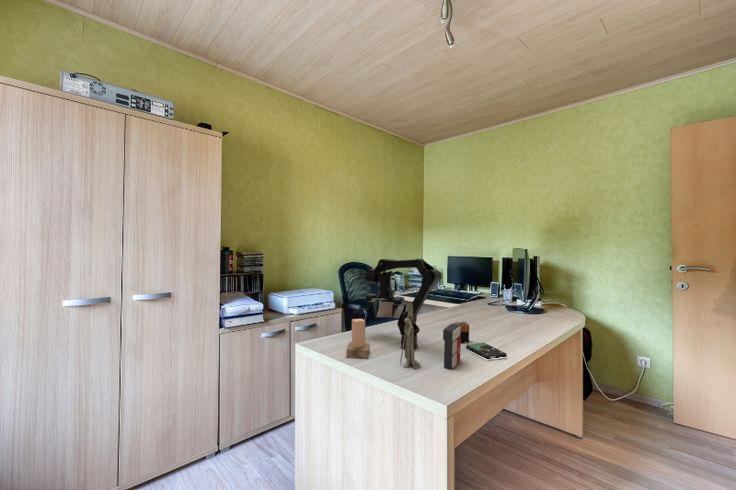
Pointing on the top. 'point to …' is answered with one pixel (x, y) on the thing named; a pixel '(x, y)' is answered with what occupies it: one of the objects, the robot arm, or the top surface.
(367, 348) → the walnut block
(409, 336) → the wizard figurine
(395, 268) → the robot arm
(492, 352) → the disk drive
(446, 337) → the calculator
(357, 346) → the terracotta block
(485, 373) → the top surface
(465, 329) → the battery
